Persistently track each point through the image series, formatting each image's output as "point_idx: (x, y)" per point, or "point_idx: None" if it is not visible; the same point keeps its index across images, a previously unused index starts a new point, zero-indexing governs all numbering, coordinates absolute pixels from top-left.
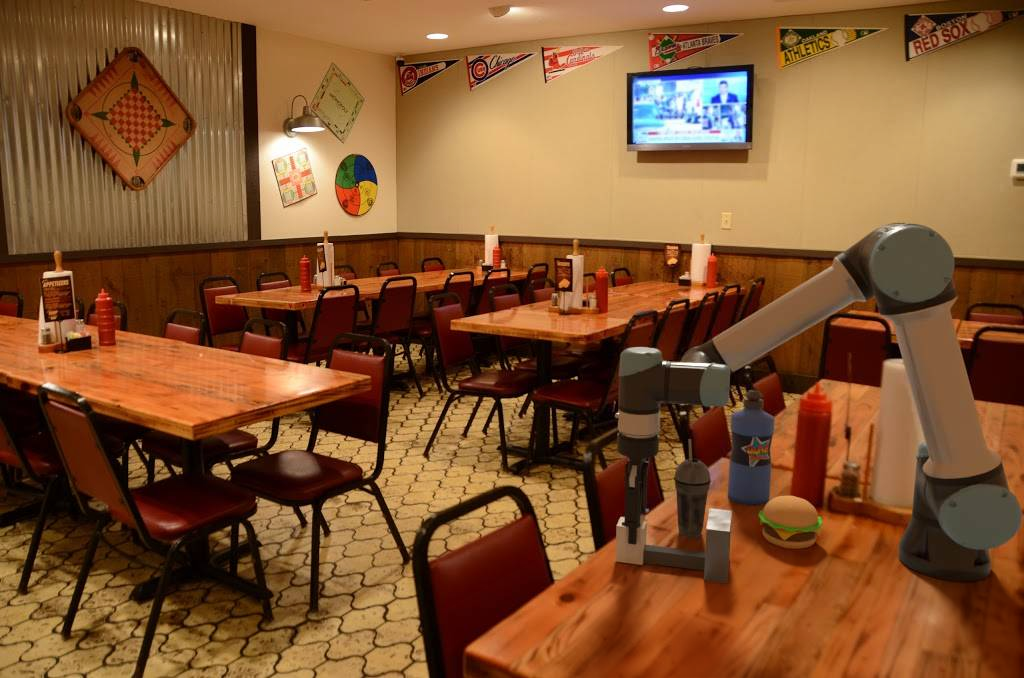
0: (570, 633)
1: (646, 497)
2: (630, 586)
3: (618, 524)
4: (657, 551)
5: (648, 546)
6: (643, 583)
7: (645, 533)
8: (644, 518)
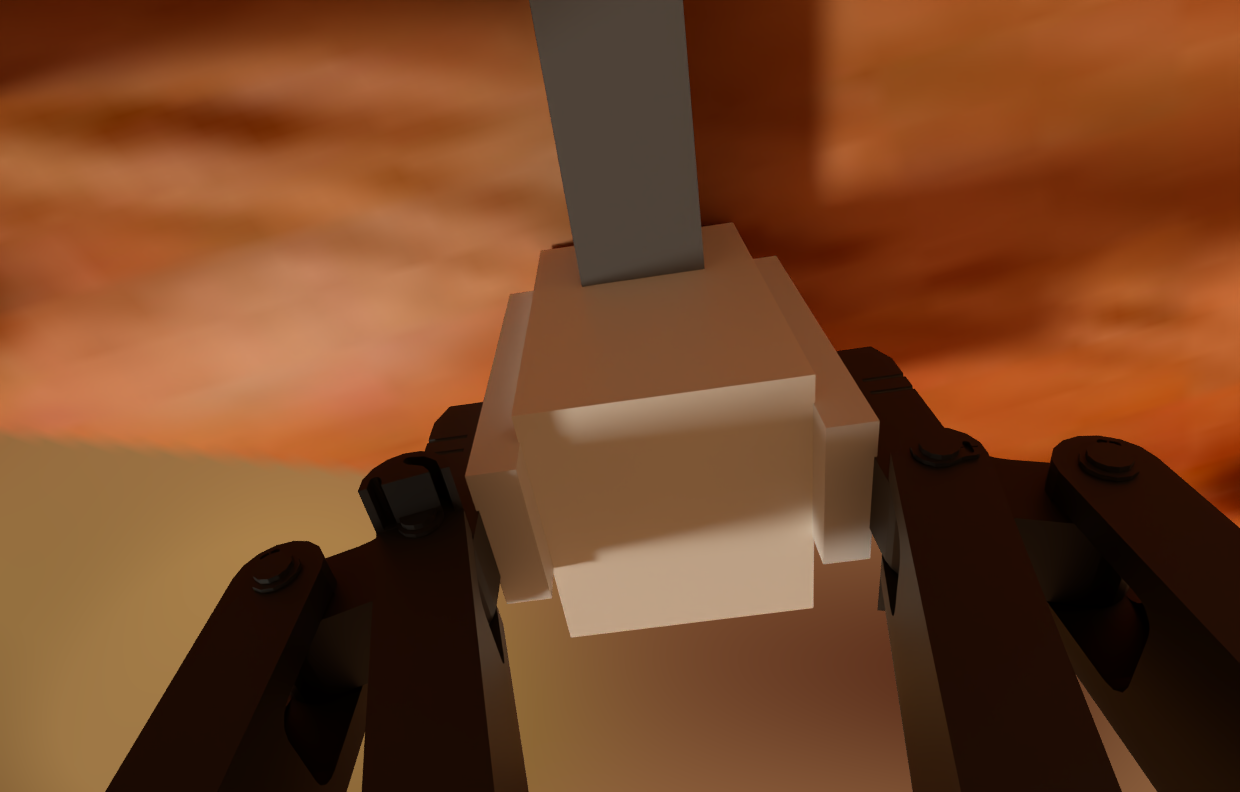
0: None
1: (202, 643)
2: (1098, 203)
3: (771, 603)
4: (690, 140)
5: (614, 251)
6: (1036, 125)
7: (615, 337)
8: (509, 449)
